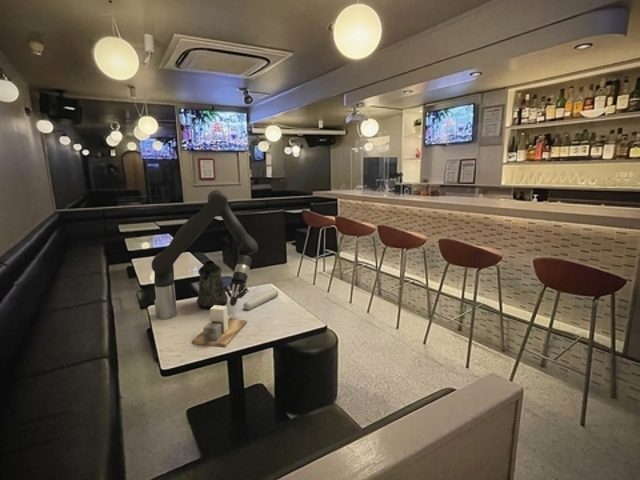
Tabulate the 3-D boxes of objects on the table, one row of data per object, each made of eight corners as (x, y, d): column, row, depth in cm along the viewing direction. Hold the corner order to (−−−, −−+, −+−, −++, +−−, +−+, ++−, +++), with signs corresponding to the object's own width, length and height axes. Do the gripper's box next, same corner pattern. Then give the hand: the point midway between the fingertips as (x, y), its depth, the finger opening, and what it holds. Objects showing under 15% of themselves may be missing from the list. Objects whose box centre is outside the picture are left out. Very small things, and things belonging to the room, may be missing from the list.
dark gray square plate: (211, 332, 163) (211, 322, 162) (213, 331, 164) (212, 321, 163) (222, 333, 162) (221, 323, 161) (223, 332, 163) (222, 322, 162)
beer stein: (222, 296, 211) (220, 256, 206) (233, 308, 195) (231, 264, 190) (194, 302, 203) (190, 260, 198) (202, 314, 187) (199, 269, 182)
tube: (249, 305, 189) (279, 291, 210) (242, 300, 192) (272, 286, 212) (247, 313, 191) (277, 298, 212) (240, 308, 194) (270, 294, 214)
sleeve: (211, 331, 164) (210, 308, 162) (215, 327, 168) (214, 305, 166) (224, 332, 163) (223, 309, 161) (228, 328, 167) (227, 306, 165)
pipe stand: (192, 343, 157) (191, 328, 156) (217, 320, 180) (216, 306, 179) (226, 346, 154) (225, 331, 153) (247, 322, 177) (246, 309, 176)
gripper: (226, 270, 185) (217, 301, 176) (250, 271, 182) (242, 303, 173) (231, 276, 191) (222, 307, 182) (254, 278, 189) (246, 309, 179)
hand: (232, 305), depth 178 cm, fingers closed
